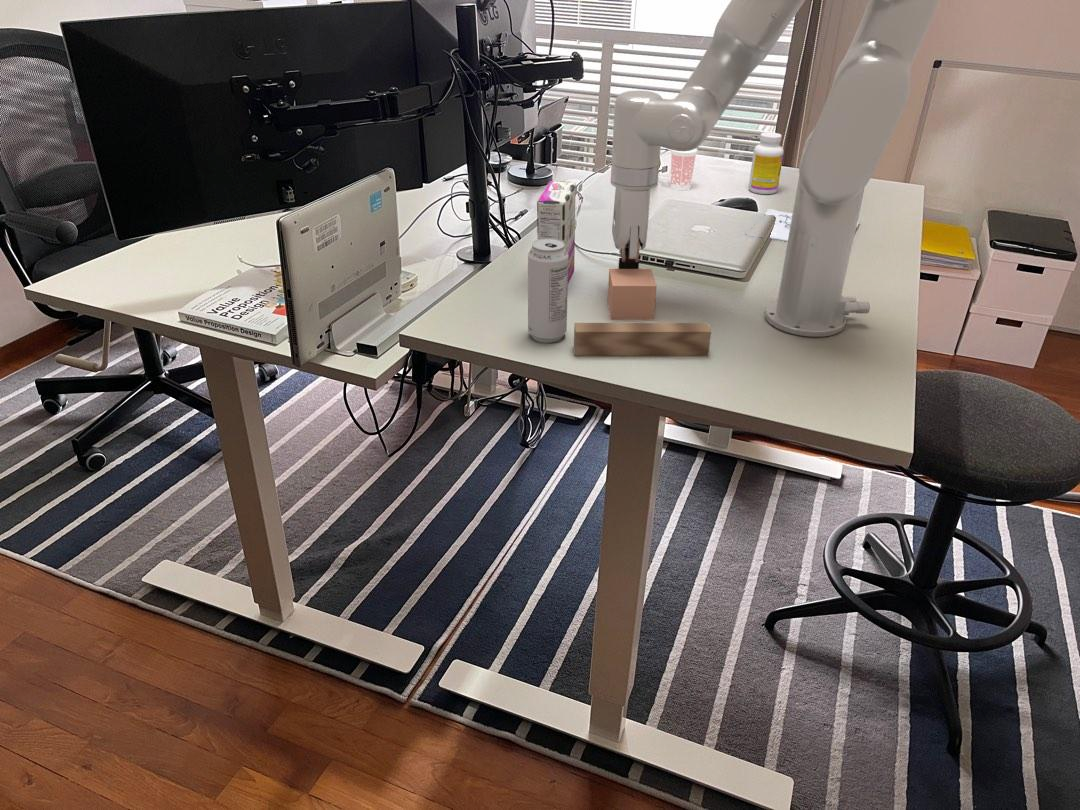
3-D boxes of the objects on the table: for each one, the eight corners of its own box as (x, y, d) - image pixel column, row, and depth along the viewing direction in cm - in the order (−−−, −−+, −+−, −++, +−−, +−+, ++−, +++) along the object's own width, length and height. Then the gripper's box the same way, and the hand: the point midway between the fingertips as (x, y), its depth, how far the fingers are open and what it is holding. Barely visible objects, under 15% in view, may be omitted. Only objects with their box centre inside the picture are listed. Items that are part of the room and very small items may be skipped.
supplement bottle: (780, 195, 190) (789, 138, 184) (751, 195, 190) (759, 138, 184) (773, 186, 196) (782, 131, 189) (745, 186, 196) (753, 130, 189)
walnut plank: (704, 346, 126) (707, 322, 124) (708, 355, 124) (711, 331, 122) (573, 346, 126) (574, 322, 124) (574, 355, 124) (575, 331, 122)
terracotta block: (648, 301, 140) (651, 268, 137) (653, 320, 135) (656, 285, 131) (607, 301, 140) (609, 268, 137) (610, 320, 134) (612, 285, 131)
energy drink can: (544, 323, 133) (545, 233, 125) (574, 334, 130) (577, 243, 122) (520, 336, 129) (519, 244, 121) (550, 348, 126) (551, 254, 118)
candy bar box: (548, 268, 152) (549, 179, 144) (574, 270, 152) (577, 181, 143) (535, 292, 143) (536, 199, 135) (564, 295, 142) (566, 201, 134)
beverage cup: (694, 185, 197) (700, 124, 189) (692, 192, 192) (699, 130, 184) (668, 183, 198) (673, 122, 190) (665, 190, 193) (671, 129, 185)
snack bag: (843, 256, 160) (845, 245, 159) (741, 237, 168) (742, 227, 167) (860, 226, 175) (863, 216, 173) (766, 211, 183) (767, 201, 182)
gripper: (607, 161, 138) (602, 264, 147) (614, 188, 125) (608, 299, 135) (652, 161, 138) (644, 264, 148) (664, 188, 125) (654, 299, 135)
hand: (627, 281), depth 141 cm, fingers closed
